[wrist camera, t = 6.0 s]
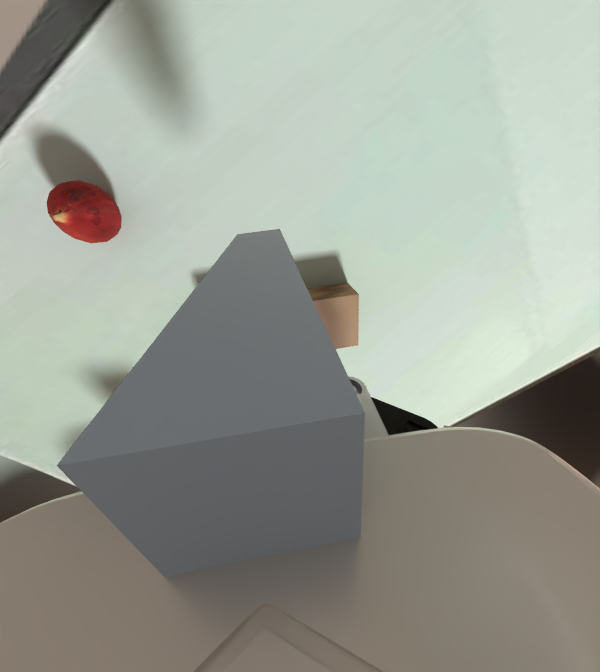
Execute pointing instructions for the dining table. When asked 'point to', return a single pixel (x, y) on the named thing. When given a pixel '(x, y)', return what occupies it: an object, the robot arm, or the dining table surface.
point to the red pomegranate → (84, 211)
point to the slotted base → (338, 312)
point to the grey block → (230, 425)
